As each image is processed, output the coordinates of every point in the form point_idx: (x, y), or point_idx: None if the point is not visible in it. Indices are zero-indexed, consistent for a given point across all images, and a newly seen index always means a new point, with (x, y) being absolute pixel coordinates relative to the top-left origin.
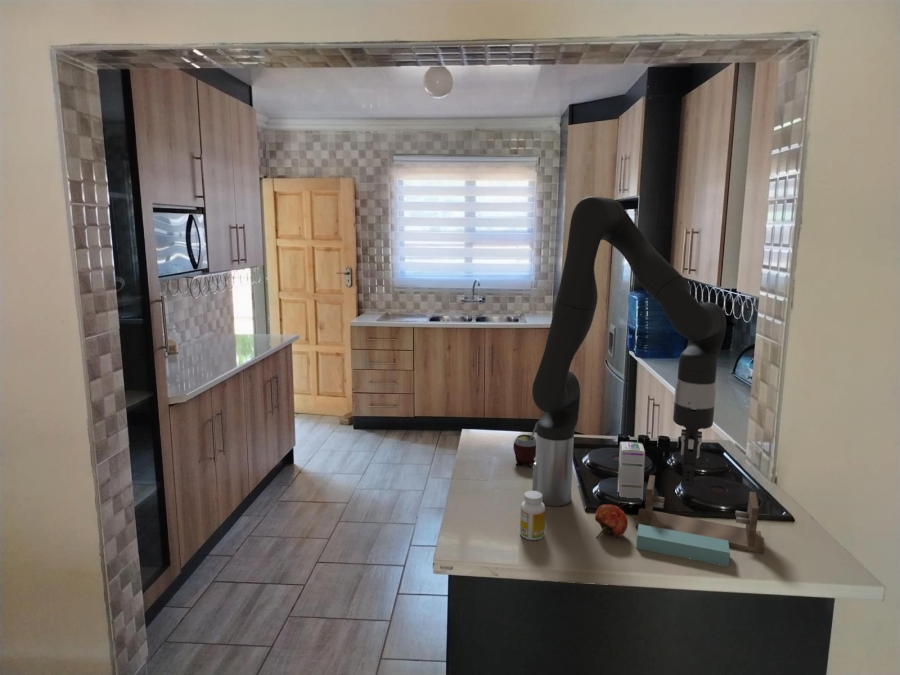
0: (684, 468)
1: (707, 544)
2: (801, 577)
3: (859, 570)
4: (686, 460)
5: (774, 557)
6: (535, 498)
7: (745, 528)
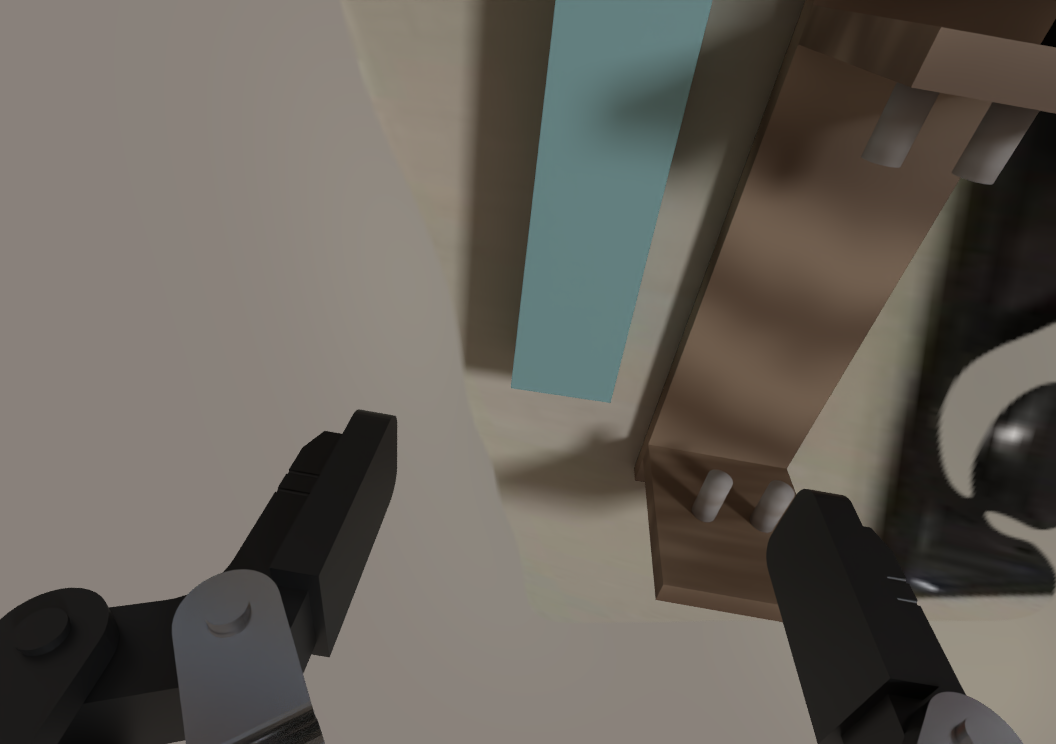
0: (283, 564)
1: (554, 322)
2: (520, 514)
3: (594, 620)
4: (822, 578)
5: (617, 488)
6: None
7: (784, 468)
